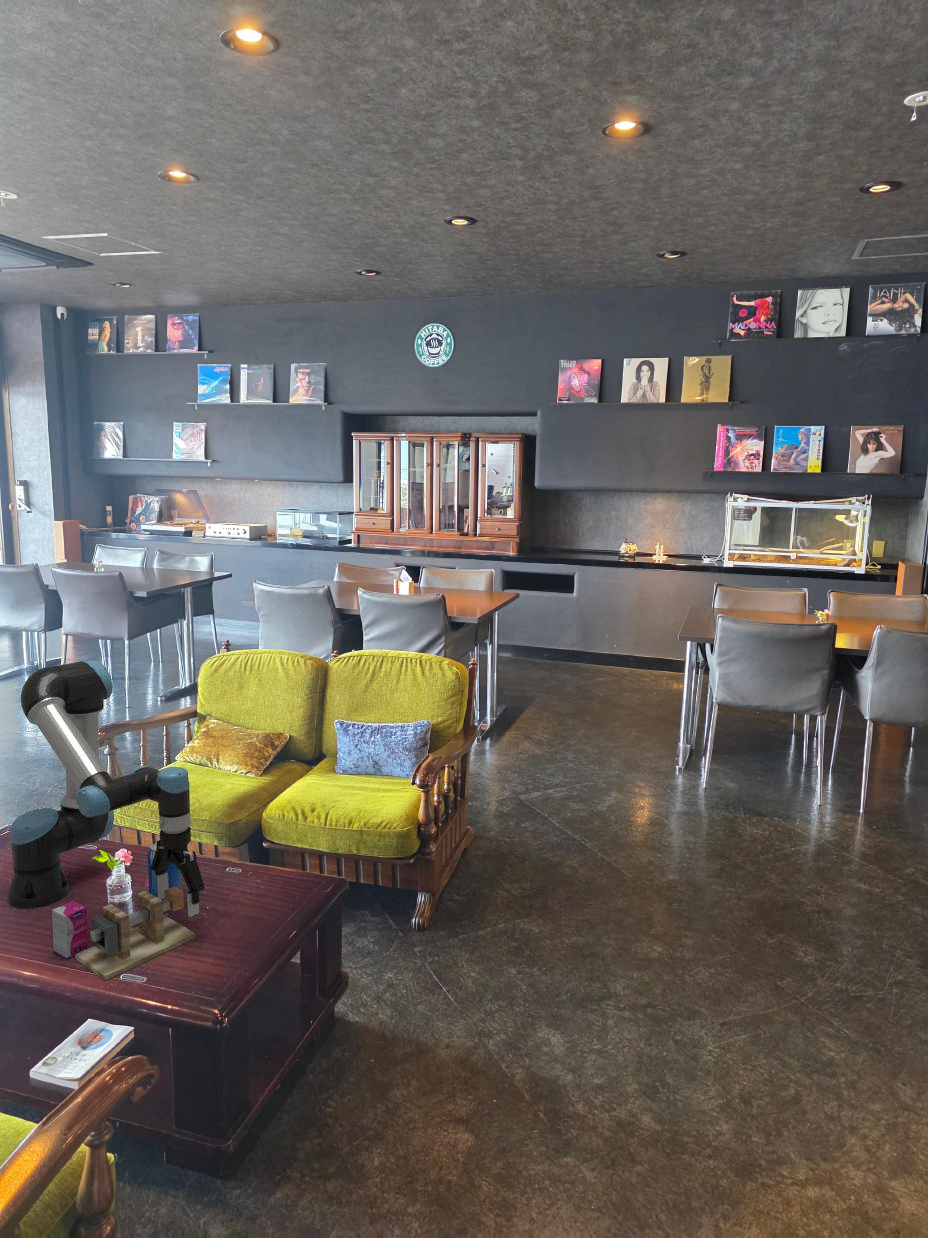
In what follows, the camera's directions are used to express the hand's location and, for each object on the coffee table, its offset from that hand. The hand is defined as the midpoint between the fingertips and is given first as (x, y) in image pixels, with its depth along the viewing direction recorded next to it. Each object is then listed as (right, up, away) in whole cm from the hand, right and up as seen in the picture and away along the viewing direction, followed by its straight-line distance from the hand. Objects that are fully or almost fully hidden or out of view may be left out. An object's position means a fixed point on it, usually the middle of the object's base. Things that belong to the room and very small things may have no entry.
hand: (178, 906), depth 211 cm
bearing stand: (-7, -8, -8) cm, 13 cm away
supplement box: (-23, -8, -10) cm, 26 cm away
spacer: (-12, -5, -15) cm, 20 cm away
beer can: (-9, -4, +16) cm, 19 cm away
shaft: (-7, -1, -9) cm, 11 cm away
